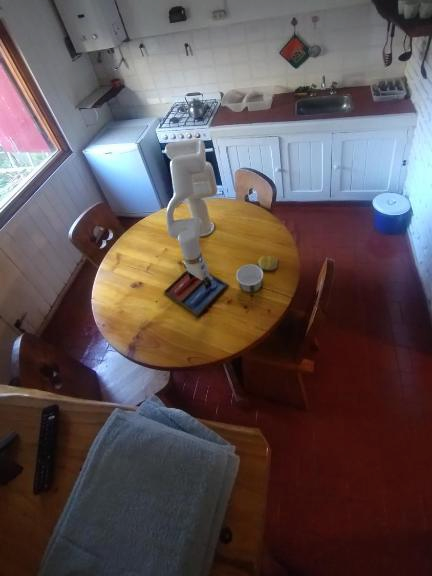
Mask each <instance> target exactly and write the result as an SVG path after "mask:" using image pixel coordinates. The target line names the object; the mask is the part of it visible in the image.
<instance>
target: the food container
mask: <svg viewBox="0 0 432 576" xmlns="http://www.w3.org/2000/svg"><path fill="white" fill-rule="evenodd" d="M235 278H236V281H238V282H239V285H240V286H241V289H242V290H243V291H245V292H247V293H253V292H256V291H258V290H259V289H260V288H261V286H262V281H263V278H264V271H263V269H262V268H261V267H260V266H259V265H256V264H245V265H242V266H241V267H240V268H238V270H237V271H236V276H235Z"/></svg>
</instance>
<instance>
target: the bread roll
mask: <svg viewBox="0 0 432 576" xmlns="http://www.w3.org/2000/svg"><path fill="white" fill-rule="evenodd" d="M278 261H279V260H278V259H277V257H276V256H274V255H269V256H268V255H261V257H259V259H258V261H257V262H258V263H257V264H258V267H260V268H261V269H262V271H263V270H264V271H274V270H275V269H276V268H277V267H278Z"/></svg>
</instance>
